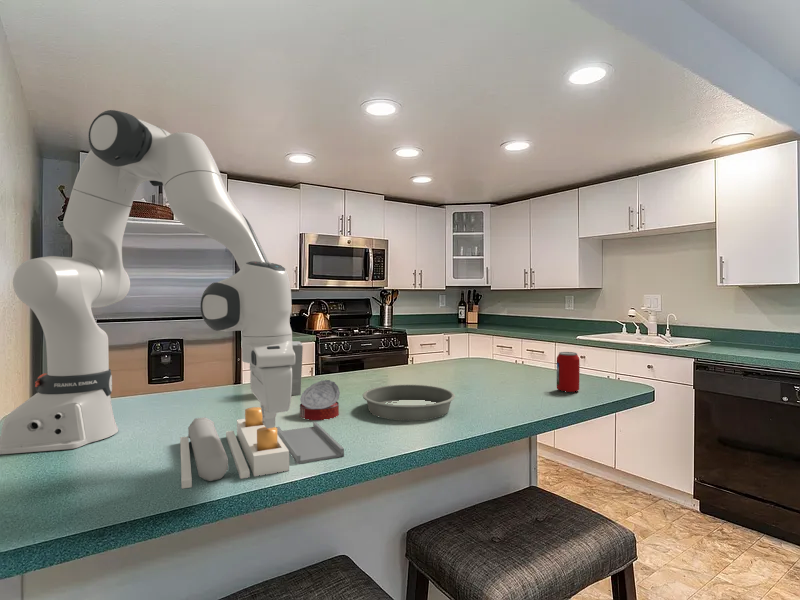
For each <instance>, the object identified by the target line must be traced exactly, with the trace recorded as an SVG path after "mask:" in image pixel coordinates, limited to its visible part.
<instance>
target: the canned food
mask: <svg viewBox="0 0 800 600" xmlns="http://www.w3.org/2000/svg"><path fill="white" fill-rule="evenodd" d="M340 393H341V392H340V389H339V386H338V385H337V384H336V382H335V381H332V380H330V379H324V380H320V381H317V382H315V383H313V384H311V385H310V386H309V387H307V388H306V389H305V390H304V391H303V392H302V393H301V395H300V399H299V400H300V404H299V418H300V417H302V418H305V419H309V420H308V421H325V420H324V419H328V420H331V419H330V418H332V419H334V417H335V418H337V417H338V416H339V415H340V410H339V408H340V407H339V406H340V403H339V402H338V400H339V399H340ZM336 416H337V417H336ZM302 418H301V419H302ZM305 419H304V420H305Z"/></svg>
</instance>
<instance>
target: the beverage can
mask: <svg viewBox="0 0 800 600" xmlns="http://www.w3.org/2000/svg"><path fill="white" fill-rule="evenodd" d="M580 368H581V367H580V357H579V356H578V353H577V352H574V351H573V352H572V351H560V352H559V353H558V355H557V356H556V389H557V390H559V391H560V390H561V391H566V392H565V393H567V392H574V393H576V392H578V391H580V374H581V373H580ZM561 391H560V392H561ZM575 391H576V392H575Z"/></svg>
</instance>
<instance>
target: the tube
mask: <svg viewBox="0 0 800 600" xmlns="http://www.w3.org/2000/svg"><path fill="white" fill-rule="evenodd" d="M187 429H188V431H187V433H188V435H187V436H188V439H189V441H190V444H191V448H192V453H193V457H194V462H195V466H196V470H197V473H198V477H199V478H202V479H203V480H205V481H208V482H212V481H216V480H221V479H222V478H223V477H224V476H225V474H226V473H227V471H228V470H229V457H228V455H227V453H226V450H225V447H224V445H223V443H222V440H221V438H220V436H219V434H218V432H217V429H216V427H215V422H214V421H213V420H211V419H209V418H207V417H198V418H194V419H193V421H192V422H191V423H190V424H189V426H188V428H187Z"/></svg>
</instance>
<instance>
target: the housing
mask: <svg viewBox="0 0 800 600" xmlns="http://www.w3.org/2000/svg"><path fill="white" fill-rule="evenodd" d="M262 427H265V425H264V424H263V425H260V426H252V427H245V418H239V419H236V433H235V431H234V430H229V431H228V430H227V431H225V434H226V435H225V437H226V441H227V443H228V447H229V449H230V453H231V455H232V458H233V461H234V464H235V468H236V471H237V473H238V476H239V479H240V480H241V479H243V480H244V479H247V478H248V477H249V478H250V470H251V472H252V475H253V477H259V475H260V476H265V474H266V475H271V474H276V473H277V472H278V473H282V472H283V471H284V472H288V471H290V453H289V450H288V449H287V447H286V446H285V444H284V443H283V442H282V440H281V439H280V437H279V436H278V434H277V448H276V449H270V450H263V451H258V450H257V429H259V428H262ZM179 438H180V439H179V440H180V445H179V446H180V477H181V479H180V481H181V489H188V488H189V489H190V488H193V480H192V479H193V478H192V467H191V453H190V442H189V441H190V438H188V435H187V436H180V437H179ZM239 441H240V442H239ZM241 448H242V449H241ZM244 453H245V454H244ZM245 458H246V459H245ZM247 460H248V461H247ZM247 462H248V463H247ZM249 467H250V468H249ZM284 472H283V473H284ZM249 478H248V479H249Z"/></svg>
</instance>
